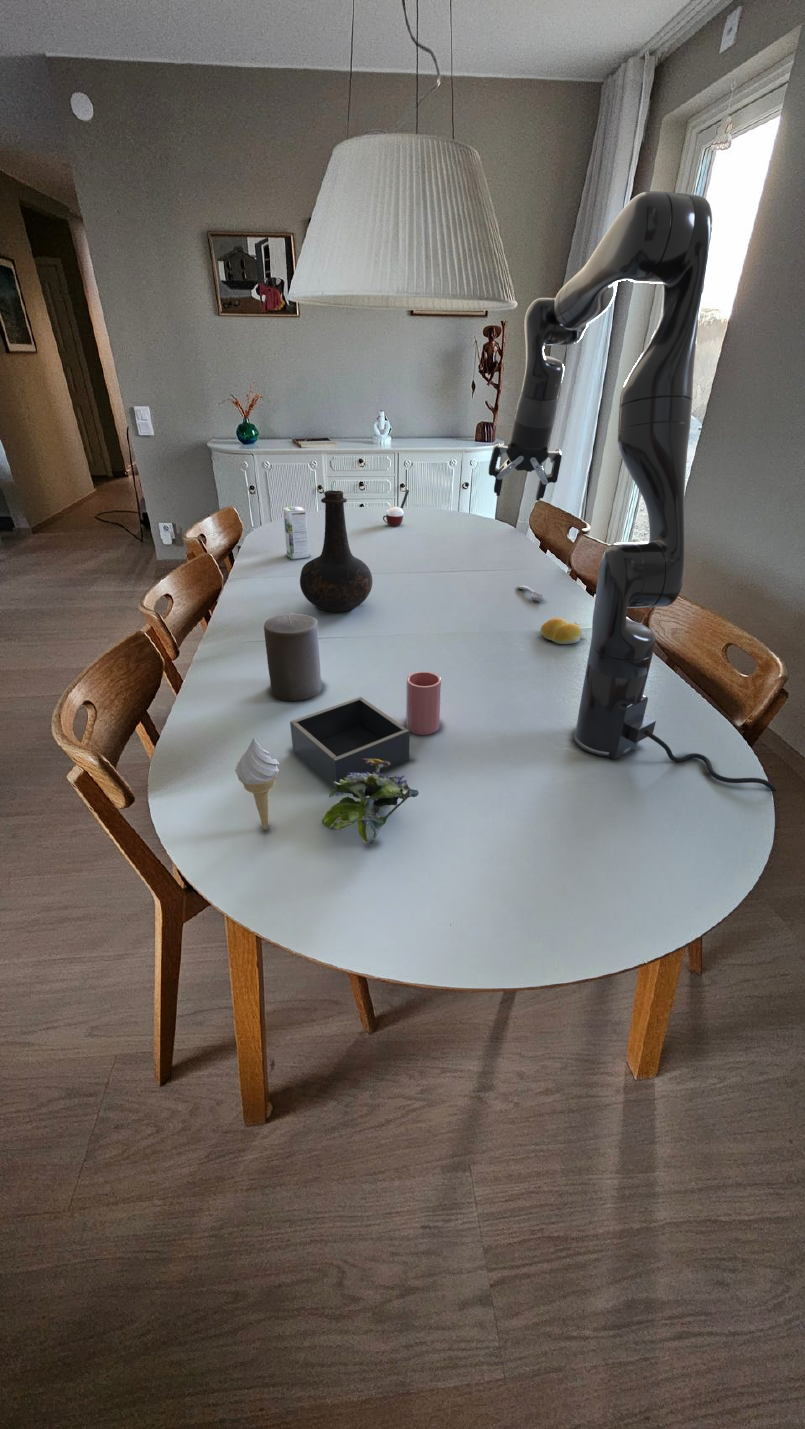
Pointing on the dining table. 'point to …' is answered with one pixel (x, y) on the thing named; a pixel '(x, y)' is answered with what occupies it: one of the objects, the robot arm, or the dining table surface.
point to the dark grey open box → (349, 740)
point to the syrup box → (296, 532)
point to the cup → (423, 702)
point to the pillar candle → (293, 656)
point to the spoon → (534, 595)
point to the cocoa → (395, 513)
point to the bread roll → (561, 631)
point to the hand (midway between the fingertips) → (517, 496)
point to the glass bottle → (335, 565)
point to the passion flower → (366, 799)
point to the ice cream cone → (258, 776)
